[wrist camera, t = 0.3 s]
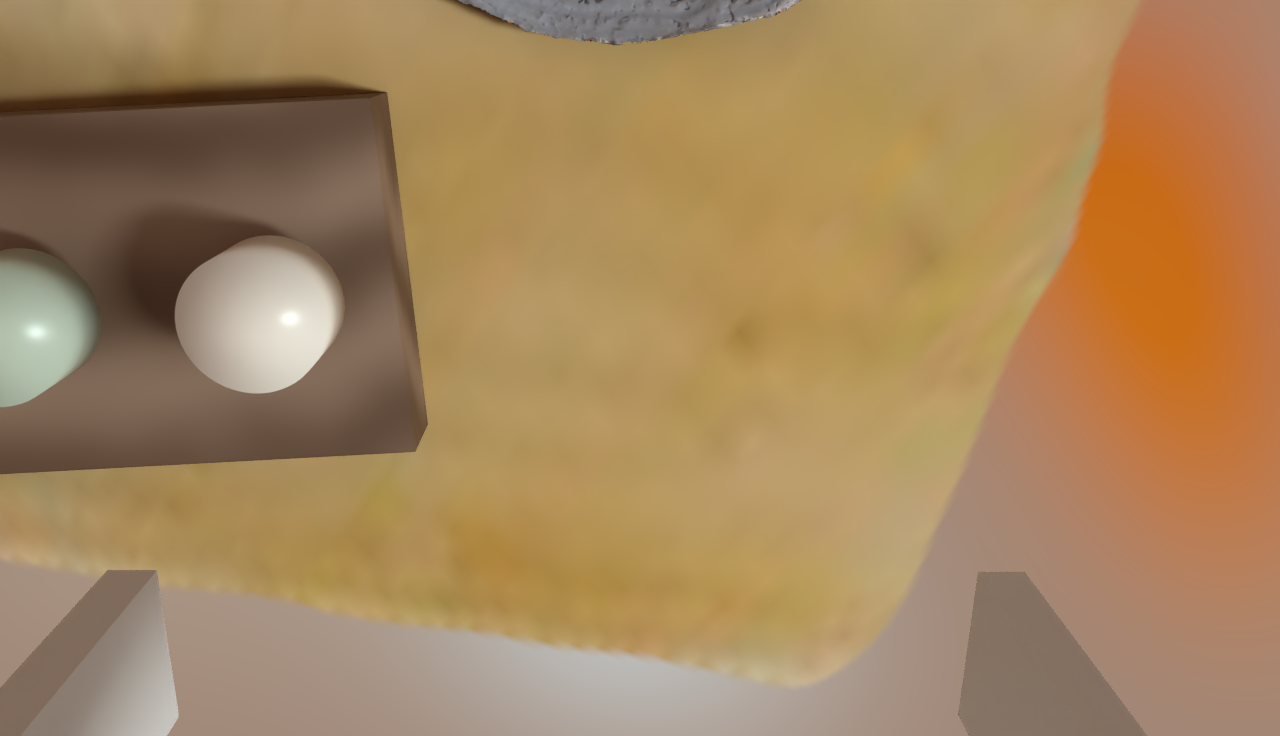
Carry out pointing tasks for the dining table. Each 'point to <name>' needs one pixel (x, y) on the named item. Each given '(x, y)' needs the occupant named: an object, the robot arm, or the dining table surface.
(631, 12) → the food plate
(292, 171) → the button board
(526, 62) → the dining table surface
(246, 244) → the cream button
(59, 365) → the sage button
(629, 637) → the dining table surface
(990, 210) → the dining table surface
